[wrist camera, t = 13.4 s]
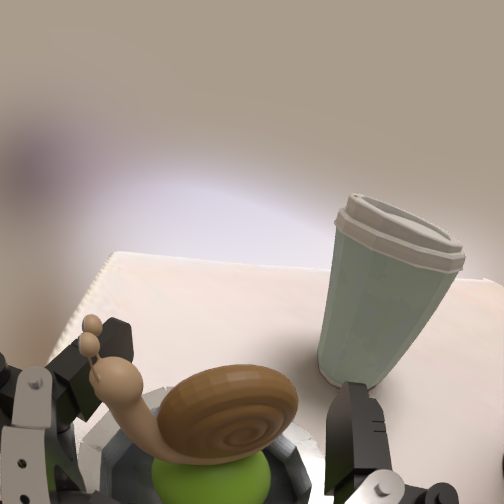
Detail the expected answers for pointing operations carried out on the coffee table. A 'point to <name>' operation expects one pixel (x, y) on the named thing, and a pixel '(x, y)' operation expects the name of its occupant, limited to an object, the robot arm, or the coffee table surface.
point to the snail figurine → (198, 425)
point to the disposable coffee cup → (381, 288)
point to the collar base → (140, 463)
